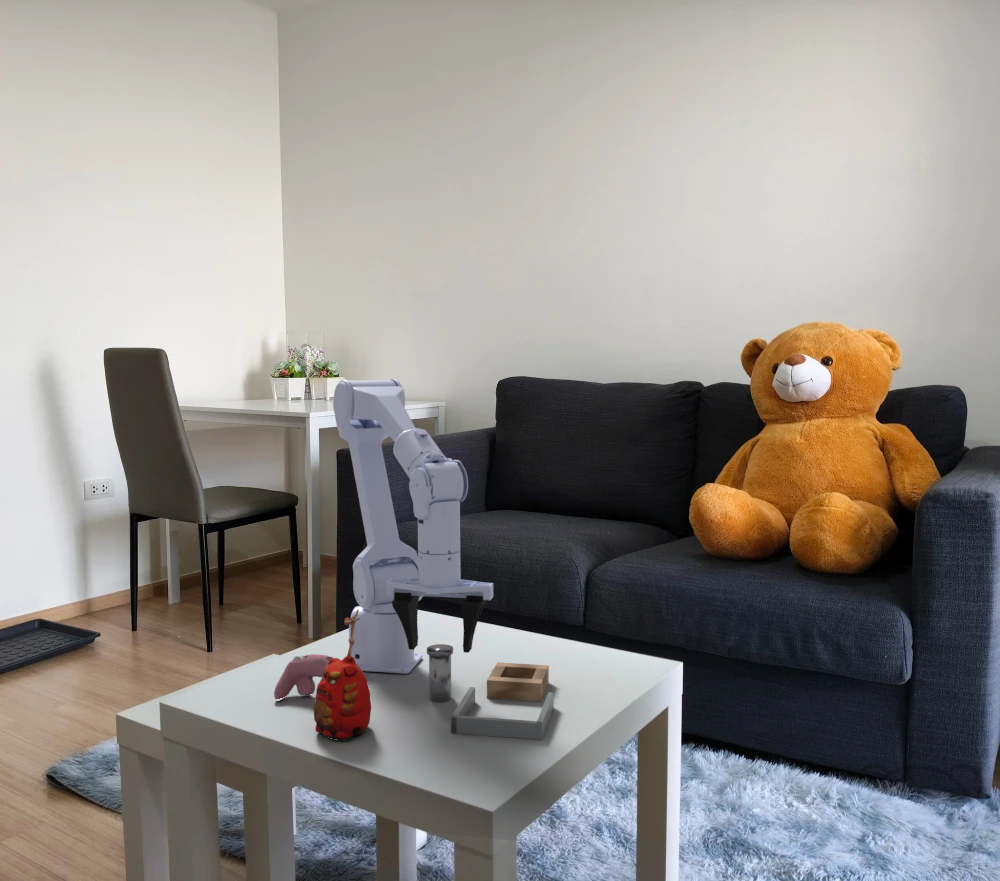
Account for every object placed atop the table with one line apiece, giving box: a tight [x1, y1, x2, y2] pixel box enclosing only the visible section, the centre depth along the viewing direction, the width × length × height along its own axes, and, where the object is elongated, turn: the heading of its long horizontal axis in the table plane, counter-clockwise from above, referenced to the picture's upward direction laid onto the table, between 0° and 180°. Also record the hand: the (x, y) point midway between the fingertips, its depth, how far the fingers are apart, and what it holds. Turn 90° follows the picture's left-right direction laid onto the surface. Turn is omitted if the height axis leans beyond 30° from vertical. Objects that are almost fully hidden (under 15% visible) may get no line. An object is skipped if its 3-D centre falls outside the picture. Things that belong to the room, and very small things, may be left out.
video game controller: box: [273, 653, 335, 700], centre depth 123 cm, size 10×5×7 cm, turn 71°
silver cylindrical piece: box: [426, 643, 454, 703], centre depth 123 cm, size 4×4×7 cm
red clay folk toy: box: [313, 609, 372, 742], centre depth 112 cm, size 8×7×15 cm
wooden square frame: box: [486, 662, 550, 702], centre depth 126 cm, size 8×8×2 cm
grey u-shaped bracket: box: [450, 686, 555, 741], centre depth 116 cm, size 11×11×2 cm
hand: (440, 648), depth 123 cm, fingers open, 7 cm apart
